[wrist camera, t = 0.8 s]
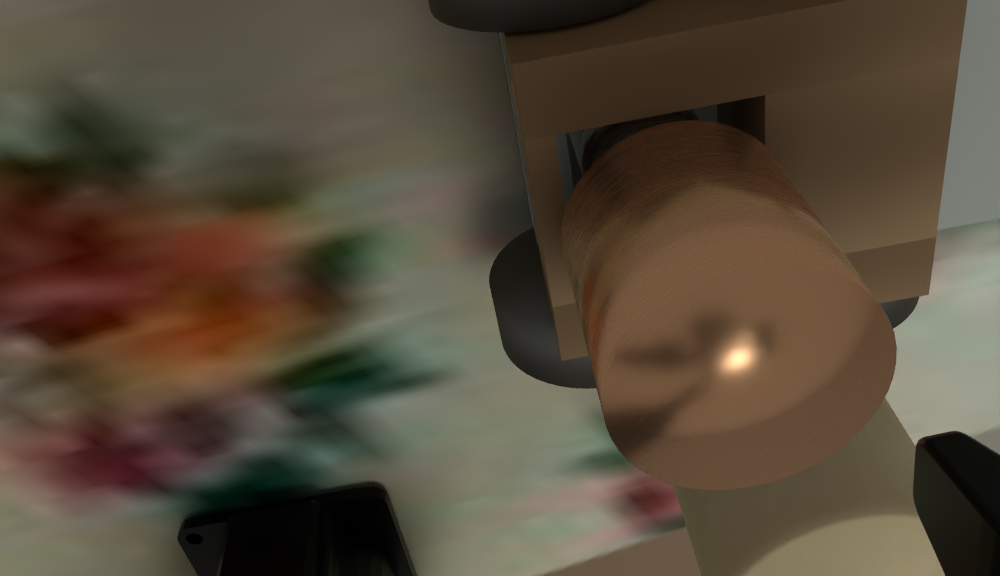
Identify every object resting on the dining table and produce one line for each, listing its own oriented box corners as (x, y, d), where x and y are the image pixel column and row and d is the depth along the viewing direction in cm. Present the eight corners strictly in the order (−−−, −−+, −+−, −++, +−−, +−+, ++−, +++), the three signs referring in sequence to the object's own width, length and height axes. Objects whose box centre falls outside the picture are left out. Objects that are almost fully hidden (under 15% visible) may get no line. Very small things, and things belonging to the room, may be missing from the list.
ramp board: (1233, 152, 23) (1295, 190, 22) (541, 279, 24) (551, 325, 22) (1399, -339, 17) (1501, -337, 16) (467, -152, 18) (472, -132, 16)
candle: (600, 334, 25) (689, 662, 17) (779, 229, 24) (972, 535, 16) (693, 445, 28) (808, 773, 20) (859, 358, 27) (1057, 674, 18)
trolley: (870, 215, 22) (980, 352, 18) (494, 284, 23) (513, 434, 18) (905, -212, 17) (1073, -163, 13) (410, -114, 17) (409, -32, 13)
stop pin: (712, 165, 20) (884, 463, 13) (542, 196, 20) (617, 510, 13) (706, -4, 18) (909, 238, 11) (515, 32, 18) (587, 297, 11)
